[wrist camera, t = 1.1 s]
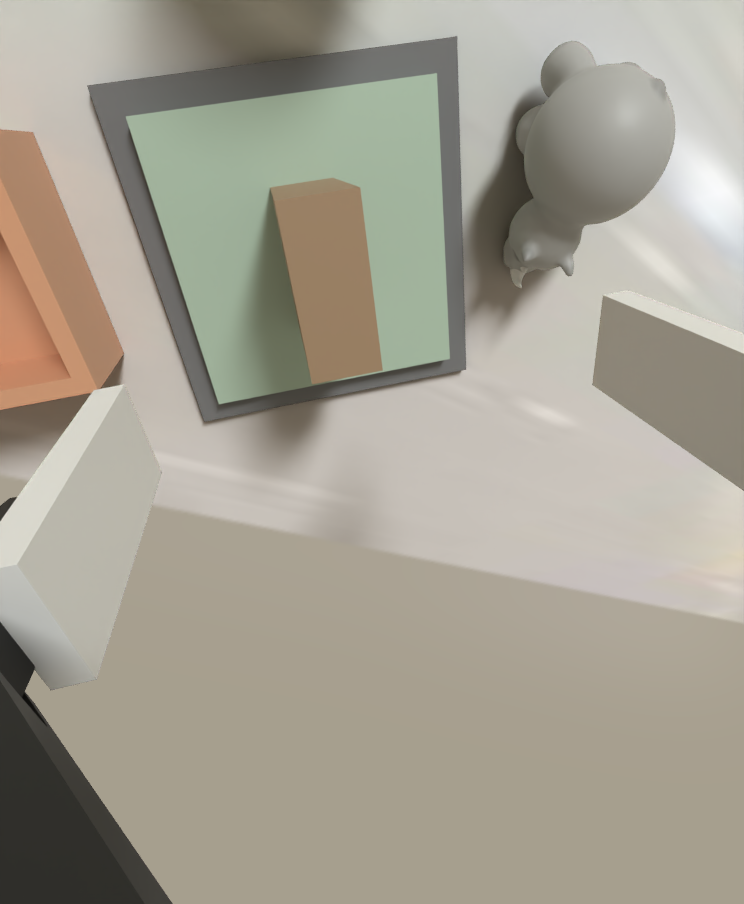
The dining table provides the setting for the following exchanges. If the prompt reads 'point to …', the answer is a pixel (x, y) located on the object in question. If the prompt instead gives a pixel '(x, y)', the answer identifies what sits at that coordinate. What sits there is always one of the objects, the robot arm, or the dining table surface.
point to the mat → (272, 81)
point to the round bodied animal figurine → (585, 154)
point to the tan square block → (45, 289)
